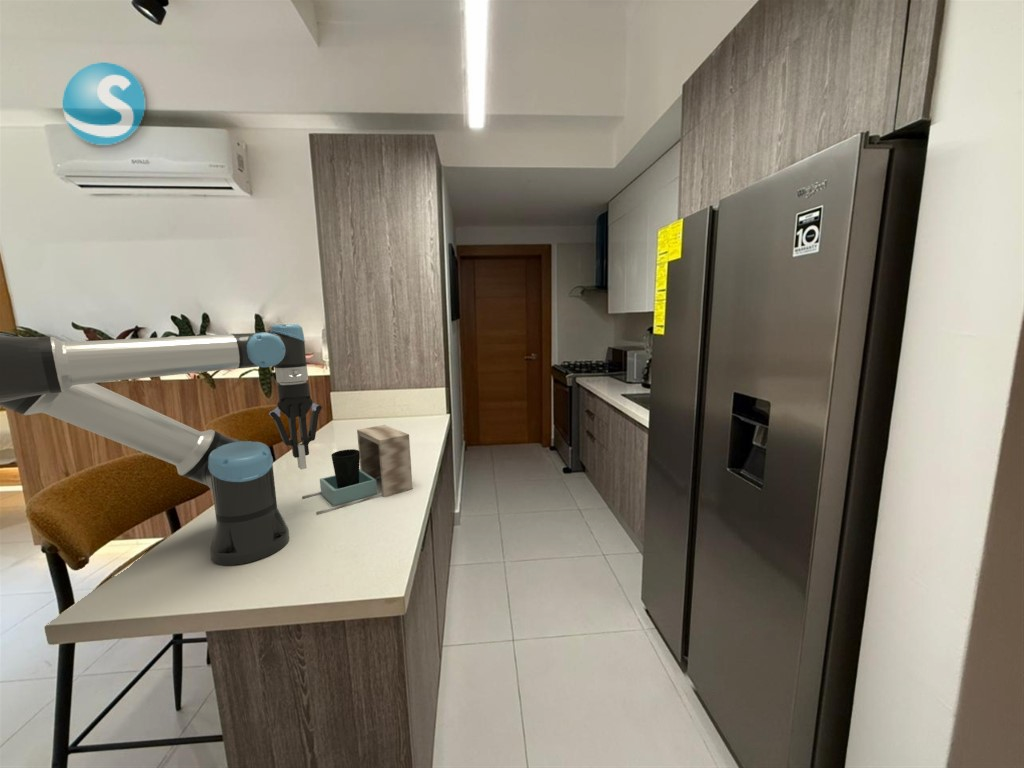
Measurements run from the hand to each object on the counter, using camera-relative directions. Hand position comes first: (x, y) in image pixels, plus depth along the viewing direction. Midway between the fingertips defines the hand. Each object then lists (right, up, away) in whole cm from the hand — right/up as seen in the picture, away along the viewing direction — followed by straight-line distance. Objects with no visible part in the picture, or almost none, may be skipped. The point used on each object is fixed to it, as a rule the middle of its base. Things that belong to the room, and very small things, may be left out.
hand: (302, 467), depth 115 cm
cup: (+9, -9, +9) cm, 16 cm away
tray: (+9, -10, +9) cm, 16 cm away
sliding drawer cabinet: (+11, -10, +11) cm, 18 cm away
